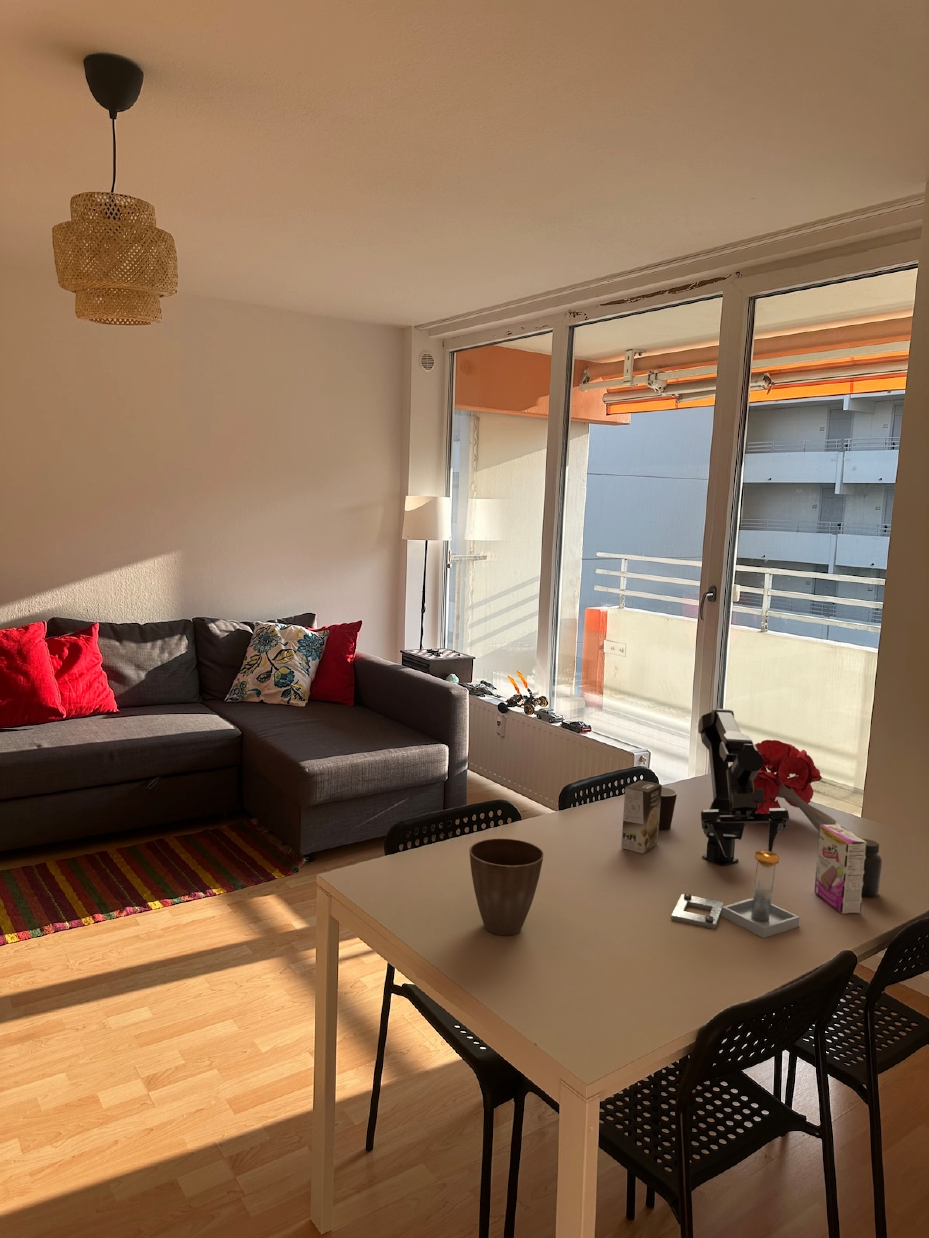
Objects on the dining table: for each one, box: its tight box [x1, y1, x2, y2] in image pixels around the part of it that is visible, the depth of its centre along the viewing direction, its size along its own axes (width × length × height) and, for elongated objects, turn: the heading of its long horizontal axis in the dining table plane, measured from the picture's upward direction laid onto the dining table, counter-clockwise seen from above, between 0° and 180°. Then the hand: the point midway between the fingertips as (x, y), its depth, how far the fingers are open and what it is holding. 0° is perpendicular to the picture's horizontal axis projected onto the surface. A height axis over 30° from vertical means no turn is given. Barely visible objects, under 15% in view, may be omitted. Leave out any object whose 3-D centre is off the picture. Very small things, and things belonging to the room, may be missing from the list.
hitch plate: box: [670, 893, 725, 930], centre depth 190 cm, size 12×9×2 cm
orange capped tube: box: [751, 849, 780, 922], centre depth 187 cm, size 5×5×14 cm
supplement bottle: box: [861, 838, 883, 899], centre depth 204 cm, size 7×7×12 cm
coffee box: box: [620, 779, 663, 854], centre depth 227 cm, size 9×6×16 cm
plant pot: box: [468, 838, 545, 936], centre depth 179 cm, size 15×15×16 cm
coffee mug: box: [659, 786, 678, 832], centre depth 244 cm, size 12×9×10 cm
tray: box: [721, 897, 801, 939], centre depth 187 cm, size 11×11×2 cm
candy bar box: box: [813, 823, 867, 915], centre depth 197 cm, size 11×5×16 cm, turn 9°
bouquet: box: [753, 739, 837, 832], centre depth 248 cm, size 22×24×30 cm
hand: (747, 856), depth 195 cm, fingers open, 9 cm apart
